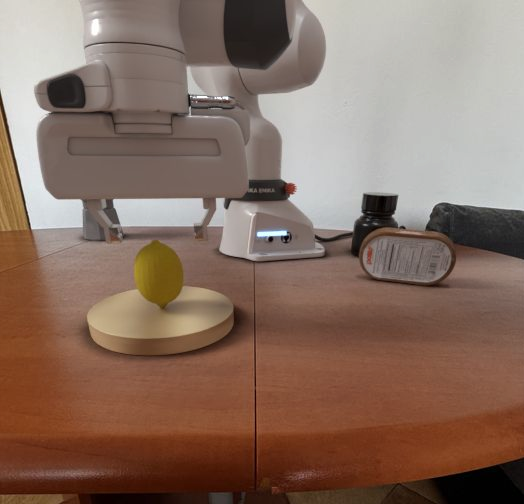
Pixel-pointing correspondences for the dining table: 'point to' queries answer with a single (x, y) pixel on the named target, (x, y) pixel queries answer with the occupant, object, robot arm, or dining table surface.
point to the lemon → (158, 273)
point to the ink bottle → (374, 217)
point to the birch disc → (160, 322)
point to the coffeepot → (92, 227)
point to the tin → (407, 256)
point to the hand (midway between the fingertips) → (158, 241)
